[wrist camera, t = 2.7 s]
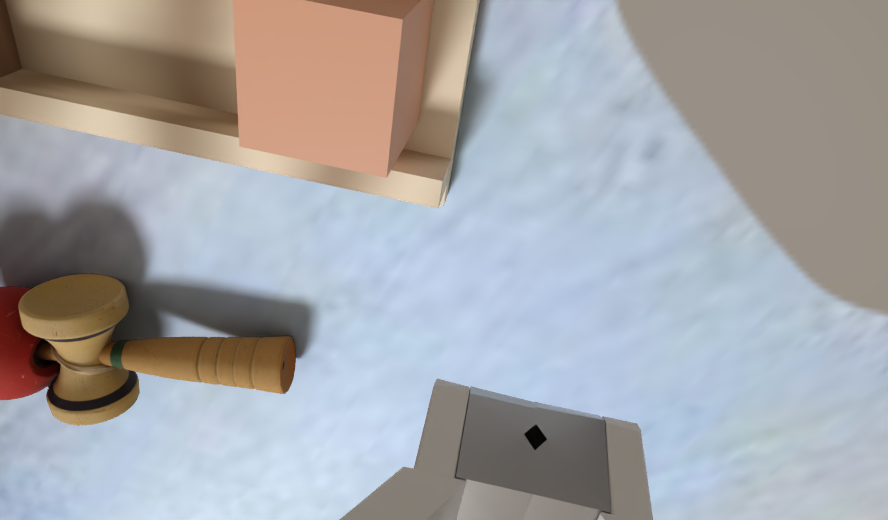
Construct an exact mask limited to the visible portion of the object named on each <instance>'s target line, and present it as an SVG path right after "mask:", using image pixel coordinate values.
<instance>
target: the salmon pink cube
mask: <svg viewBox="0 0 888 520" xmlns="http://www.w3.org/2000/svg"><path fill="white" fill-rule="evenodd" d="M232 2H233V23H234V44H235V65H236V86H237V107H238V128H239V147H244V148H248V149H253V150H258V151H262V152H267V153H272V154H276V155H281V156H286V157H290V158H295V159H300V160H305V161H309V162H314V163H319V164H323V165H328V166H333V167H337V168H342V169H347V170H352V171H356V172H361V173H366V174H370V175H375V176H380V177H384V178H387V176H388V175H389V173H390V171H391V169H392V168H393V166H394V164H395V162H396V160H397V159H398V157H399V155H400V153H401V152H402V150H403V148H404V146H405V144H406V143H407V141H408V139H409V137H410V135H411V134H412V132H413V130H414V128H415V127H416V125H417V123H418V121H419V113H420V105H421V97H422V89H423V81H424V73H425V65H426V58H427V50H428V42H429V34H430V26H431V18H432V10H433V2H434V0H232Z"/></svg>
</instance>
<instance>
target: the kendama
mask: <svg viewBox="0 0 888 520" xmlns="http://www.w3.org/2000/svg"><path fill="white" fill-rule="evenodd" d="M128 310H129V302H128V298H127V293H126V289H125V286H124V285H123V283H121V282H120V281H119V280H117V279H115V278H112V277H109V276H104V275H98V274H77V275H69V276H64V277H60V278H56V279H53V280H50V281H47V282H44V283H42V284H40V285H37V286H36V287H34V288H32V289H30V288H26V287H16V286H9V287H0V400H11V399H18V398H22V397H25V396H29V395H32V394H34V393H36V392H38V391H40V390H42V389H44V388H45V387H47V386H48V388H49V389H48V391H47V395H46V397H47V402H48V405H49V407H50V410H51V412H52V414H53V416H54V417H55V418H57V419H58V420H60V421H61V422H64V423H67V424H71V425H92V424H97V423H101V422H104V421H107V420H110V419H113V418H114V417H117V416H119V415H120V414H122V413H124V412H125V411H127V410H128V409H129V408H130V407H131V406H132V405H133V404H134V403H135V402H136V400H137V398H138V395H139V393H140V392H139V380H138V376H137V374H136V372H140V373H145V374H150V375H155V376H160V377H166V378H172V379H178V380H186V381H193V382H204V383H209V384H222V385H226V386H234V387H237V386H238V387H241V388H248V389H257V390H262V391H267V392H274V393H280V394H285V393H286V392H287V391H288V390H289V388H290V386H291V383H292V381H293V377H294V371H295V363H296V349H295V343H294V341H293V339H292V337H290V336H281V337H262V338H260V337H244V338H243V337H228V338H226V337H209V338H208V337H164V338H149V339H135V340H124V341H111V336H112V333H113V330H114V328H115V326H116V325H117V323H118V322H119V321H120V320H122V319H123V318H124V317H125V315H126V314H127V312H128Z"/></svg>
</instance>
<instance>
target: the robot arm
mask: <svg viewBox="0 0 888 520" xmlns="http://www.w3.org/2000/svg"><path fill="white" fill-rule="evenodd" d="M340 520H653V516H652V509H651V502H650V494H649V487H648V479H647V472H646V465H645V457H644V450H643V443H642V435H641V430H640V428H639V426H638V425H637V424H636V423H631V422H627V421H622V420H617V419H613V418H608V417H601V416H599V415H594V414H589V413H585V412H580V411H575V410H571V409H566V408H561V407H556V406H552V405H547V404H542V403H538V402H531V401H527V400H523V399H519V398H515V397H511V396H507V395H503V394H499V393H495V392H491V391H487V390H483V389H479V388H475V387H470V390H469V387H468V386H464V385H460V384H456V383H452V382H448V381H444V380H440V379H437V380H436V382H435V384H434V387H433V391H432V395H431V399H430V403H429V408H428V412H427V416H426V420H425V424H424V428H423V432H422V437H421V441H420V445H419V449H418V453H417V457H416V462H415V466H414V469H413V468H408V467H402V468H401V469H400V470H399V471H398V472H396V473H395V474H394V475H393V476H392V477H390V478H389V479H388V480H387V481H386V482H384V483H383V484H382V485H381V486H380V487H378V488H377V489H376V490H375V491H374V492H372V493H371V494H370V495H369V496H368V497H366V498H365V499H364V500H363V501H362V502H360V503H359V504H358V505H357V506H356V507H354V508H353V509H352V510H351V511H350V512H348V513H347V514H346V515H345V516H344V517H342V518H341V519H340Z"/></svg>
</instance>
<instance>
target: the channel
mask: <svg viewBox="0 0 888 520" xmlns="http://www.w3.org/2000/svg"><path fill="white" fill-rule="evenodd" d="M479 3H480V0H434V2H433V10H432V18H431V26H430V34H429V42H428V50H427V58H426V65H425V73H424V81H423V89H422V97H421V105H420V113H419V121H418V123H417V125H416V127H415V128H414V130H413V132H412V134H411V135H410V137H409V139H408V141H407V143H406V144H405V146H404V148H403V150H402V152H401V153H400V155H399V157H398V159H397V160H396V162H395V164H394V166H393V168H392V169H391V171H390V173H389V175H388V176H387V178H384V177H380V176H375V175H370V174H366V173H361V172H356V171H352V170H347V169H342V168H337V167H333V166H328V165H323V164H319V163H314V162H309V161H305V160H300V159H295V158H290V157H286V156H281V155H276V154H272V153H267V152H262V151H258V150H253V149H248V148H244V147H239V128H238V107H237V86H236V65H235V44H234V23H233V2H232V0H0V114H1V115H5V116H10V117H15V118H19V119H24V120H29V121H33V122H38V123H43V124H47V125H52V126H57V127H61V128H66V129H71V130H75V131H80V132H84V133H89V134H94V135H98V136H103V137H108V138H112V139H117V140H122V141H126V142H131V143H136V144H140V145H145V146H150V147H154V148H159V149H164V150H168V151H173V152H178V153H182V154H187V155H192V156H196V157H201V158H206V159H210V160H215V161H219V162H224V163H229V164H233V165H238V166H243V167H247V168H252V169H257V170H261V171H266V172H271V173H275V174H280V175H285V176H289V177H294V178H299V179H303V180H308V181H313V182H317V183H322V184H327V185H331V186H336V187H340V188H345V189H350V190H354V191H359V192H364V193H368V194H373V195H378V196H382V197H387V198H392V199H396V200H401V201H406V202H410V203H415V204H420V205H424V206H429V207H434V208H439V205H441V206H444V203H445V200H446V198H447V195H448V189H449V183H450V177H451V171H452V165H453V159H454V153H455V147H456V141H457V135H458V129H459V123H460V117H461V111H462V105H463V99H464V93H465V87H466V81H467V75H468V69H469V63H470V57H471V51H472V45H473V39H474V33H475V27H476V21H477V15H478V9H479Z"/></svg>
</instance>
